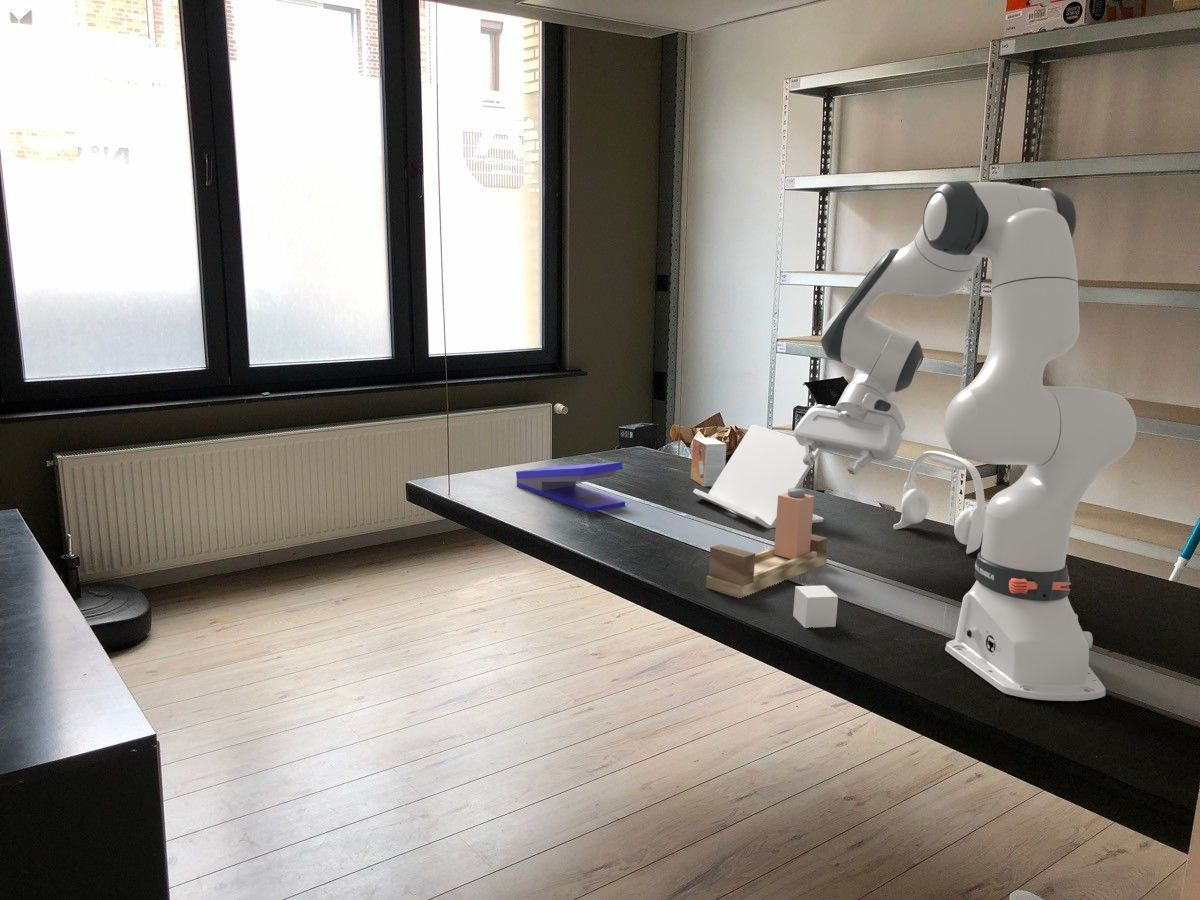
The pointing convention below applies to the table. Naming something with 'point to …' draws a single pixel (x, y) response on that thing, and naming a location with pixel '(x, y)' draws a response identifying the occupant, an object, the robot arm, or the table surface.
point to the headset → (918, 501)
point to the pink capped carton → (793, 523)
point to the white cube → (815, 606)
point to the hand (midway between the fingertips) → (829, 468)
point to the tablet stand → (760, 475)
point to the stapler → (571, 484)
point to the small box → (707, 460)
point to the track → (758, 567)
